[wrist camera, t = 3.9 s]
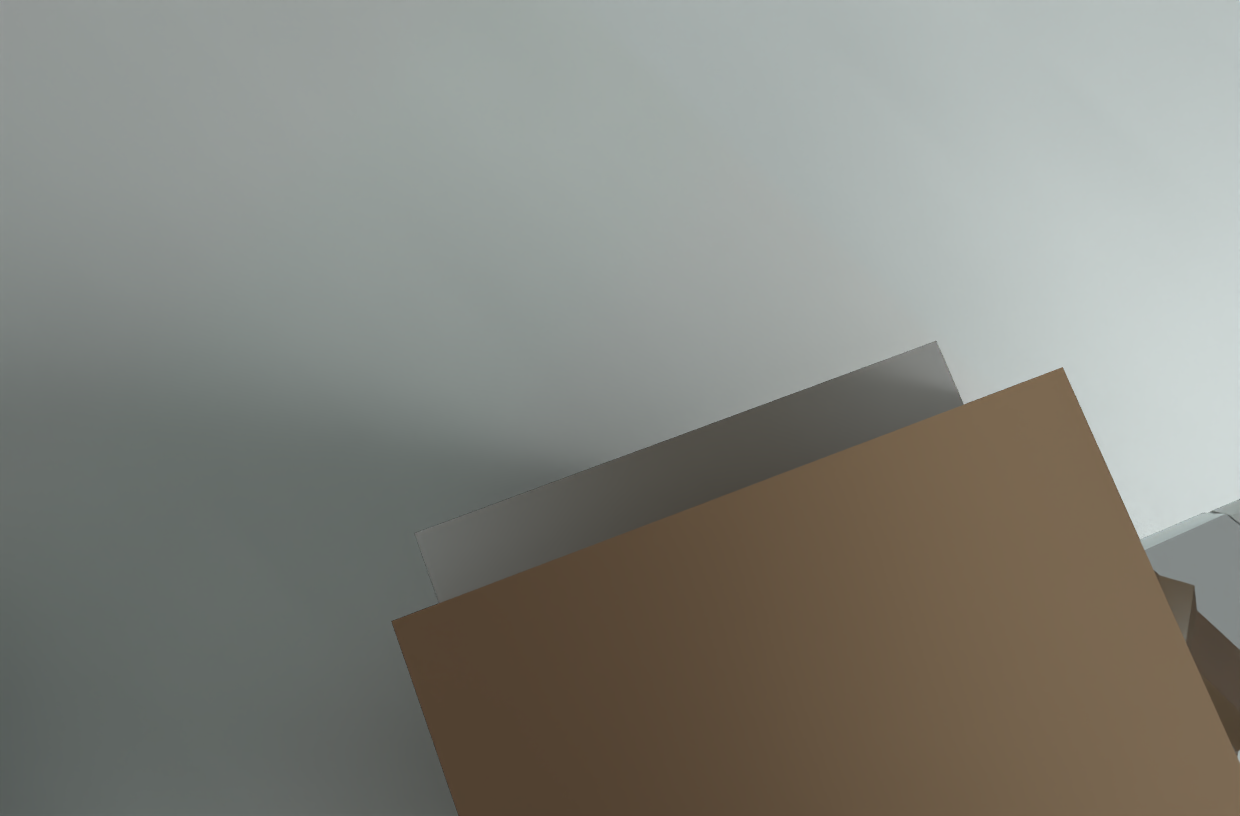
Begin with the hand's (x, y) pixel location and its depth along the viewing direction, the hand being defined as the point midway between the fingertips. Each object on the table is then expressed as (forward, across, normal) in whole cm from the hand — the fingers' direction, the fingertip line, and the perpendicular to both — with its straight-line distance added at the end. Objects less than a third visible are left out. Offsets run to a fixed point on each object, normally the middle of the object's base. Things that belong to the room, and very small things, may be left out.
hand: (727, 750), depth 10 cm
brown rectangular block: (+4, 0, +4) cm, 6 cm away
